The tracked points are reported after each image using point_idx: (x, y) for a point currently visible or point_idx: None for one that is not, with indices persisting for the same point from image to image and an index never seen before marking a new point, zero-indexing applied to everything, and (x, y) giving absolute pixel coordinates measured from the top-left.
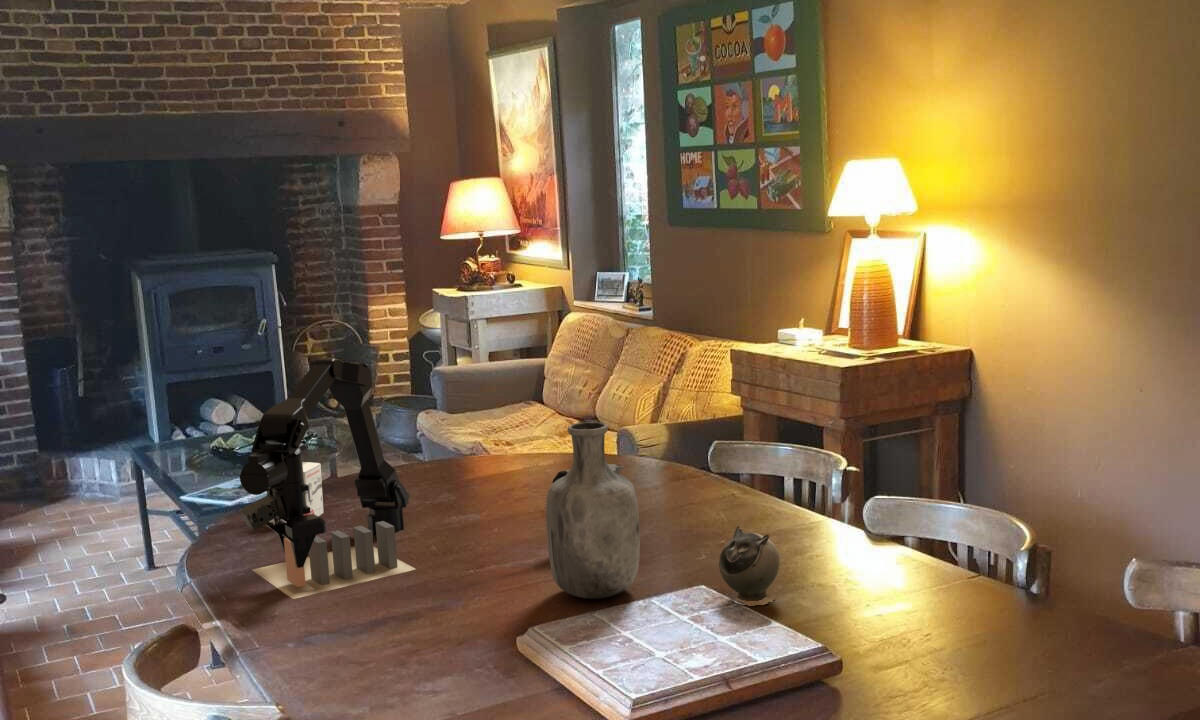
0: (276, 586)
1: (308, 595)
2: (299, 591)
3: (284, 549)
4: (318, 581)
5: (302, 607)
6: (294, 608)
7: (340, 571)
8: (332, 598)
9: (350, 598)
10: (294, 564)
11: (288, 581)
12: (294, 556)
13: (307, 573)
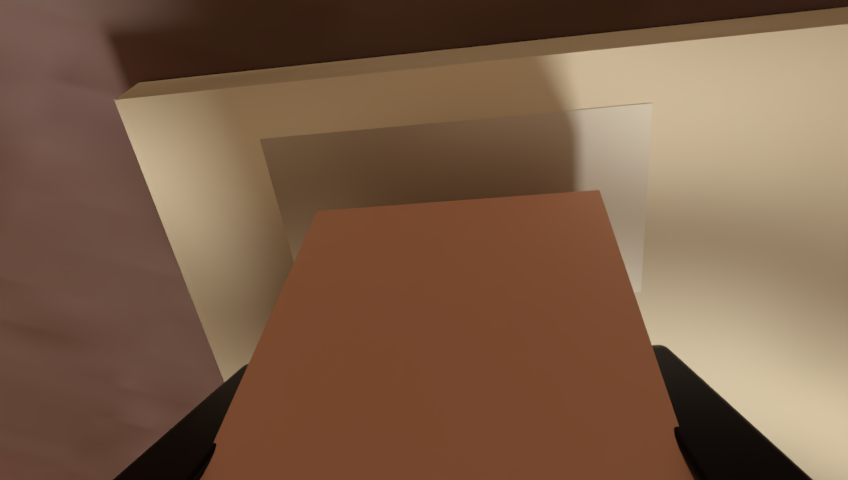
0: (616, 57)
1: (166, 232)
2: (308, 201)
3: (697, 474)
4: None
5: (41, 125)
6: (36, 61)
7: None
8: (171, 342)
9: (124, 415)
10: (277, 367)
11: (679, 197)
12: (177, 473)
13: (759, 372)
